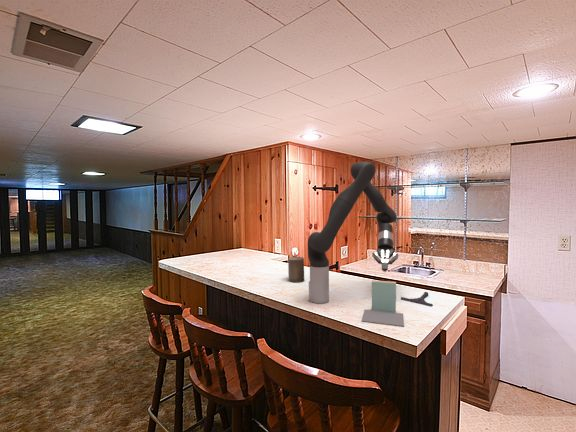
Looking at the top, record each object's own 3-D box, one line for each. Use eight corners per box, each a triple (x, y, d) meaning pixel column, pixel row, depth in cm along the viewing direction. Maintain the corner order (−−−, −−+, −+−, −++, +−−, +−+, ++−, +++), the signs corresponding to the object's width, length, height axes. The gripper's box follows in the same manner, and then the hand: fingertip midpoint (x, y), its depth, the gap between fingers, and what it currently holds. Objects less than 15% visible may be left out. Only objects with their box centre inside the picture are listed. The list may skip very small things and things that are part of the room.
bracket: (442, 300, 147) (442, 294, 147) (431, 308, 137) (431, 302, 137) (412, 294, 157) (412, 288, 157) (400, 301, 147) (400, 295, 147)
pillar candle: (307, 281, 181) (306, 256, 180) (292, 283, 177) (292, 258, 176) (299, 277, 190) (299, 254, 189) (285, 279, 185) (285, 255, 185)
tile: (371, 310, 133) (371, 281, 132) (372, 308, 135) (372, 280, 135) (395, 313, 130) (395, 283, 129) (395, 311, 132) (395, 281, 131)
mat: (361, 321, 121) (361, 320, 121) (364, 310, 133) (364, 309, 133) (404, 326, 116) (404, 325, 116) (403, 314, 128) (403, 313, 128)
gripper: (371, 236, 154) (369, 265, 143) (399, 237, 149) (399, 267, 139) (372, 245, 159) (370, 273, 148) (399, 246, 155) (399, 275, 144)
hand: (384, 270), depth 143 cm, fingers closed
